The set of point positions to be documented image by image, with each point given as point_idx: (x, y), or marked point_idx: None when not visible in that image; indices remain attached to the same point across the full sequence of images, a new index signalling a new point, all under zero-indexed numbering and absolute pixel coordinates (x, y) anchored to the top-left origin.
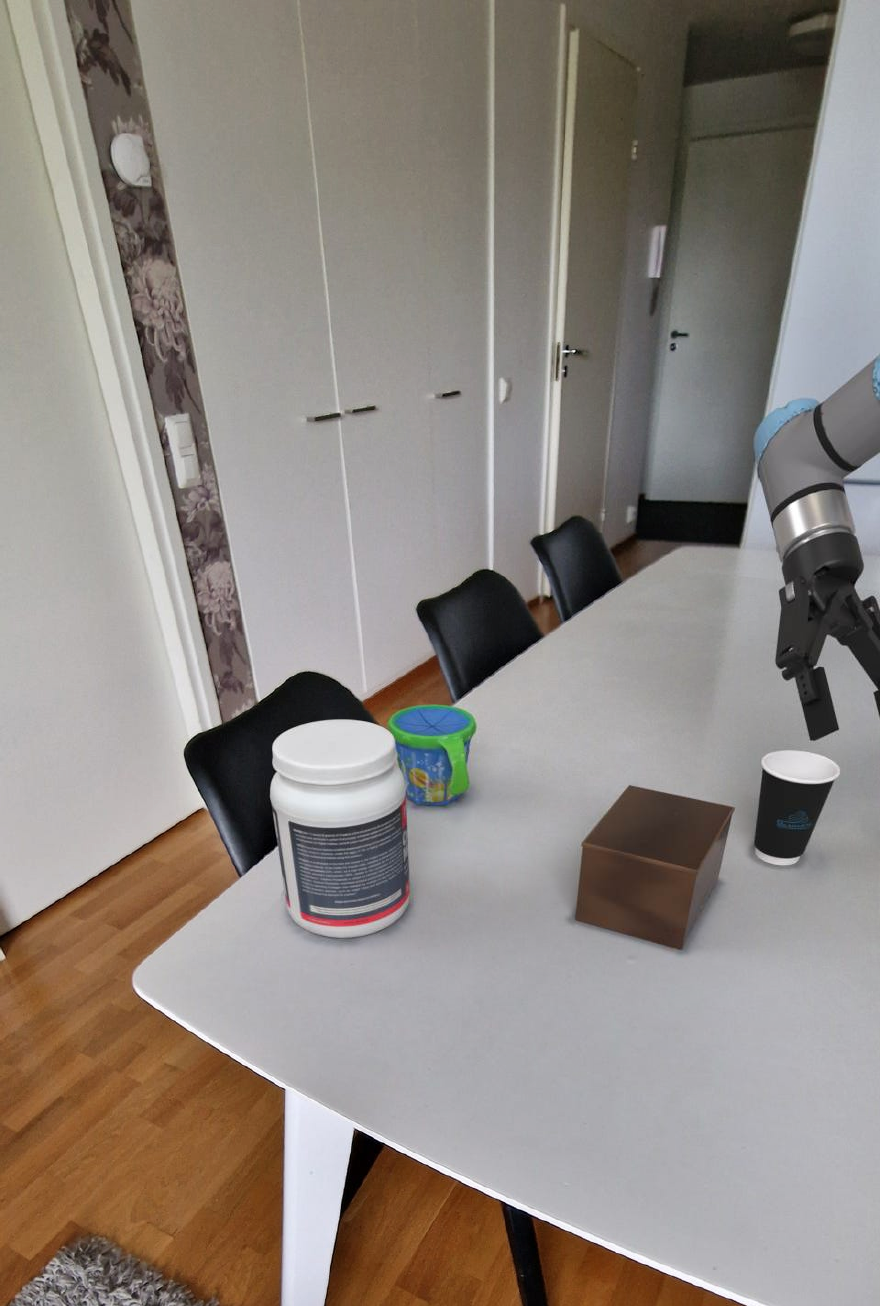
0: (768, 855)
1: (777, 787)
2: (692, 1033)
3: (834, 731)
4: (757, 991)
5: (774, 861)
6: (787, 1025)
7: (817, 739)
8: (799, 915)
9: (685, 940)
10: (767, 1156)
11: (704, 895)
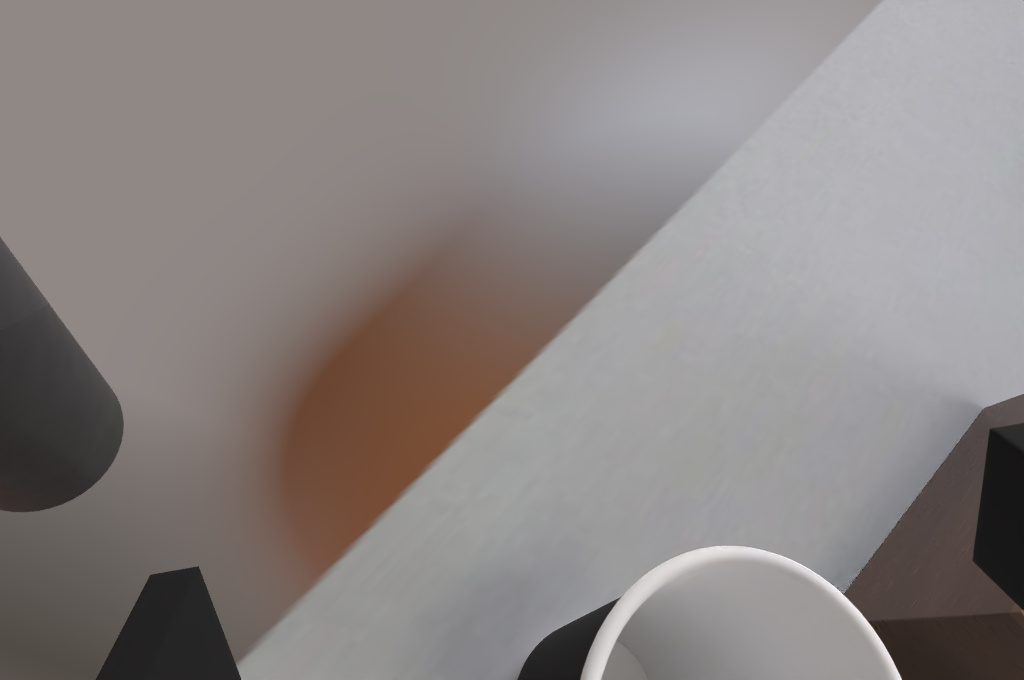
0: (651, 673)
1: (843, 678)
2: (1020, 226)
3: (991, 451)
4: (892, 254)
5: (630, 654)
6: (881, 174)
7: (976, 543)
8: (698, 408)
9: (983, 417)
10: (991, 43)
11: (954, 493)
